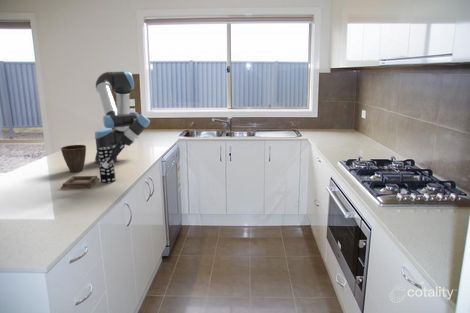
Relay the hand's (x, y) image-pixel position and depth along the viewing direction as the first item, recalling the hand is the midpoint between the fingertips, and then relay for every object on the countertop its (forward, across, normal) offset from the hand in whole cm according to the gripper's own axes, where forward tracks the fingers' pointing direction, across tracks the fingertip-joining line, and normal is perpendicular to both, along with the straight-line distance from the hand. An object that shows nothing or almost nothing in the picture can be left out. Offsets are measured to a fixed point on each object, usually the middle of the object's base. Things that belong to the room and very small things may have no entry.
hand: (104, 164), depth 207 cm
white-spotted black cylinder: (+7, 0, -9) cm, 11 cm away
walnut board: (+17, -1, +2) cm, 17 cm away
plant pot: (+21, +31, +6) cm, 38 cm away
